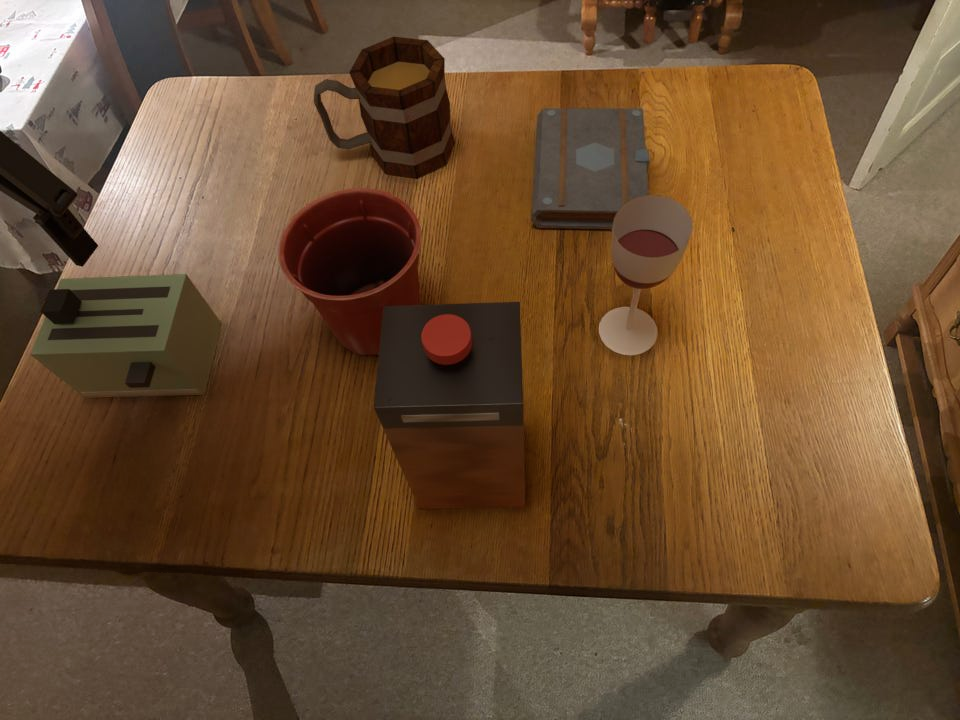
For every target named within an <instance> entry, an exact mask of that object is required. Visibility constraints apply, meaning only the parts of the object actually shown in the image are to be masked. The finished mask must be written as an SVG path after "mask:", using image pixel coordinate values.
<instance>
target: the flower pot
mask: <svg viewBox="0 0 960 720" xmlns="http://www.w3.org/2000/svg"><path fill="white" fill-rule="evenodd" d="M421 243H422V229H421V224H420V221H419V218H418V216H417V214H416V213H415V211H414V210H413V209H412V208H411V206H410V205H409V204H408V203H407V202H406V201H405V200H403V199H402V198H400V197H398V196H397V195H395V194H393V193H390V192H387V191H384V190H380V189H377V188H369V187H354V188H352V187H351V188H346V189H345V188H344V189H340V190H336V191H333V192H330V193H326V194H324V195H323V196H320V197H318V198H316V199H314V200H312V201H311V202H310V203H308V204H306V205H305V206H304V207H302V208H301V209H300V210H299V211H298V212H297V213H296V214H295V215H294V216H293V217H292V218H291V219H290V221H288V223H287V225H286V226H285V228H284V230H283V232H282V234H281V236H280V239H279V243H278V248H277V249H278V251H277V256H278V257H277V258H278V263H279V267H280V270H281V272H282V273H283V275H284V277H285V278H286V279H287V280H288V281H289V283H290V284H291V285H292V286H294V288H295V289H297V290H298V291H301V293H302V295H303V296H304V297H305V298H306V299H307V300H308V301H309V302H310V303H312V304H313V306H314V307H315V308H316V310H317V311H318V313H319V315H320V316H321V317H322V319H323V320H324V322H325V323H326V324H327V326H328V327H329V329H330V331H331V332H332V333H333V335H334V336H335V338H336V339H337V340H338V342H339V343H340V344H341V345H342V346H343V347H344V348H345V349H347V350H348V351H350V352H352V353H354V354H357V355H359V356H367V355H368V356H369V355H372V356H373V355H375V356H379V347H380V337H381V326H382V315H383V307H384V306H407V305H423V304H422V295H421V288H420V287H421V286H420V277H419V268H418V267H419V264H420V263H419V262H420V249H421Z"/></svg>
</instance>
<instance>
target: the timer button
mask: <svg viewBox="0 0 960 720" xmlns="http://www.w3.org/2000/svg"><path fill="white" fill-rule="evenodd" d="M421 339H422V344H423V348H424V351H425V353H426V355H427V356H428V358H429V359H431V360H432V361H434V362H436V363H438V364H443V365H450V364H455V363H457V362H460V361H461V360H463V359H464V358H465V357H466V356H467V355H468V354H469V352H470V350H471V348H472V336H471V330H470V327H469V325H468V324H467V322H466V321H465V320H464V319H462V318H461V317H459V316H456V315H451V314H445V315H440V316H437V317H434V318H433V319H431V320H430V321H429V322H428V323H427V324H426V325H425V326H424V328H423V330H422V334H421Z"/></svg>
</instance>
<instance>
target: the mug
mask: <svg viewBox="0 0 960 720" xmlns="http://www.w3.org/2000/svg"><path fill="white" fill-rule="evenodd" d="M445 59H446V58H445V57H444V56H443V55H442V54H441V52H439V50H438V49H436V47H435V46H434V45H432V43H431V42H430V41H429V40H428V39H420V38H410V37H403V36H392V37H389V38H387V39H384V40H381V41H379V42H376V43H374V44H372V45H370V46H366V47H363V48H362V49H361V50H360V51H359V53H358V55H357V57H356V60H355V61H354V62H353V64H352V66H351V68H350V70H349V72H348V73H349V76H350V78H351V80H352V83H353V85H354V87H350V86H347V85H345V84H344V83H342V82H340V80H339V81H338V80H334V79H328V78H325V79H324V80H322V81H320V82H318V83H317V84H315V85H314V90H313V91H314V92H313V104H314V107H315V108H316V111H317V112H318V113H317V114H319V116H320V119H321V122H322V124H323V127H324V130H325V132H326V134H327V137H328V139H329V141H330V142H331V143H332V145H334V146H335V147H336V148H337V149H339V150H340V149H341V150H346V151H349V150H352V149H355V148H357V147H361V146H365V145H368V144H369V146H370V154H371V155H370V156H371V157H372V158H373V160H374V161H375V162H376V163H377V165H378V166H379V167H380V169H381V170H382V172H383V173H384V174H385V175H387V176H395V177H401V178H408V179H415V180H418V179H420V178H422V177H425V176H427V175H428V174H431V173H433V172H435V171H438V170H440V169H442V168H445V167H446V166H447V164H448V162H449V160H450V157H451V154H452V152H453V149H454V147H455V144H456V141H455V137H454V133H453V130H452V121H451V103H450V98H449V94H448V89H447V82H446V77H445V76H446V75H445V69H446V68H445V67H446V65H445V61H446V60H445ZM327 91H330V92H334V93H337V94H339V95H341V96H342V97H343V98H346V99H348V100H358V106H359V110H360V111H359V112H360V117H361V119H362V122H363V125H364V127H365V129H366V132H364V133H361V134H358V135H355V136H352V137H351V138H348V139H346V138H341V137H339V135H337V133H336V132H335V131H334V128H333V125H332V122H331V119H330V116H329V113H328V110H327V109H326V107H325V105H324V103H323V101H322V94H323V93H325V92H327Z"/></svg>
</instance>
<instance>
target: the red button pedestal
mask: <svg viewBox="0 0 960 720" xmlns="http://www.w3.org/2000/svg"><path fill="white" fill-rule="evenodd" d="M445 314H451V315H456V316H459V317H461V318H462V319H464V320H465V321H466V322H467V324H468V325H469V327H470V330H471V336H472V348H471V350H470V352H469V354H468V355H467V356H466V357H465V358H464V359H463V360H461V361H460V362H457V363H455V364H450V365H443V364H438V363H436V362H434V361H432V360H431V359H429V358H428V356H427V355H426V353H425V351H424V348H423V344H422V339H421V334H422V330H423V328H424V326H425V325H426V324H427V323H428V322H429V321H430V320H431V319H433V318H434V317H437V316H440V315H445ZM521 322H522V321H521V302H520V301H501V302H499V301H497V302H495V301H494V302H470V303H469V302H468V303H439V304H438V303H437V304H422V305H407V306H384V307H383V315H382V326H381V337H380V347H379V355H378V358H377V359H378V360H377V370H376V371H377V372H376V379H375V393H374V402H373V409H374V412H375V413H376V416H377V417H378V421H379V422H380V423H379V424H381V427H382V429H383V432H384V434H385V436H386V438H387V440H388V442H389V445H390V447H391V449H392V451H393V454H394V455H395V459H396V460H397V463H398V465H399V467H400V470H401V471H402V474H403V476H404V478H405V480H406V482H407V484H408V486H409V489H410V491H411V493H412V496H413V497H414V500H415V502H416V504H417V506H418V508H419V510H441V509H443V510H446V509H451V510H452V509H498V508H499V509H501V508H503V509H505V508H509V509H510V508H512V509H513V508H525V507H526V491H525V490H526V489H525V488H526V487H525V486H526V485H525V484H526V482H525V425H524V424H525V422H524V421H525V419H524V417H525V416H524V384H523V383H524V380H523V379H524V378H523V351H522V350H523V348H522V323H521Z"/></svg>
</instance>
